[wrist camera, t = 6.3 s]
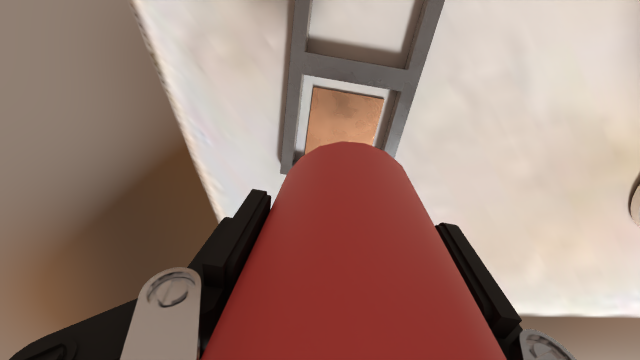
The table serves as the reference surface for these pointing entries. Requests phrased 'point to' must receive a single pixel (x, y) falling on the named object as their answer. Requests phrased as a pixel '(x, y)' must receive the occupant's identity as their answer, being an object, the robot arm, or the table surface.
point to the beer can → (350, 272)
